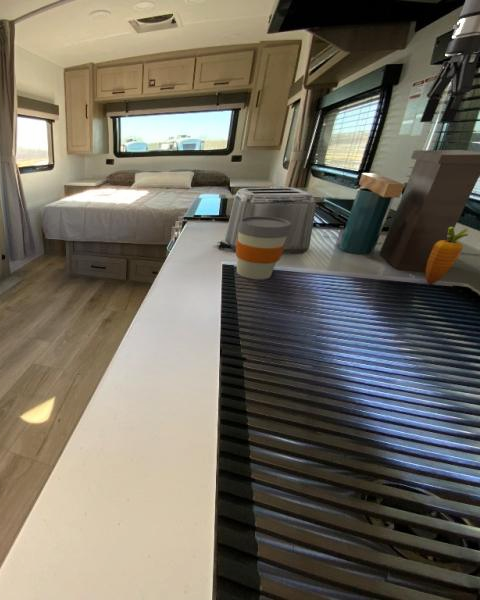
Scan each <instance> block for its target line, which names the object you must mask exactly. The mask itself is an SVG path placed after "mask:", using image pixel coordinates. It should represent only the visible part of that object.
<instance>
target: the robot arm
mask: <svg viewBox="0 0 480 600" xmlns="http://www.w3.org/2000/svg"><path fill="white" fill-rule="evenodd" d="M452 28H453V29H454V31H453V33H452V35H451V38H452V39H451V41H449V43H448V45H447V48H446V51H445V53H444V55H445V57H450V58H449V59H450V60H445V61H443V63H442V66H441V67H440V70H439V72H438V74H437V76H436V77H435V79H434V81H433V83H432V84H431V87H430V88H429V90H428V92H427V94H426V96H425V97H426V98H427V99H428V100H427V101H426V104H425V107H424V110H423V112H422V116H421V118H420V119H419V123H432V122H433V119H434V117H435V114H436V112H437V109H438V106H439V104H440V102H441V99H442V98H443V94H444V92H445V91H446V89H447V87H448V86H449V85H450V83H451V82H452V92H450V94H449V95H448V97H449V98H448V99H447V103H446V105H445V107H444V110H443V112H442V115H441V117H440V120H439V123H447V122H448V123H449V122H454V120H455V118H456V115H457V113H458V110H459V108H460V106H461V103H462V102H463V99H464V97H465V96H466V95H467V93H470V92H471V91H472V89H473V83H474V79H475V74H476V68H477V64H478V61H479V58H480V0H465V1H464V3H463V7H462V10H461V12H460V15H459V17H458V20H457V22H456V24H454V25H453V27H452Z"/></svg>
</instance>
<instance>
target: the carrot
mask: <svg viewBox="0 0 480 600" xmlns="http://www.w3.org/2000/svg"><path fill="white" fill-rule="evenodd" d="M468 230H469V229H468V228H464V229H462V230H460V232H459V233H458V234H455V227H449V229H448V236H447V238H448V239H447V240H441V241H438V242H437V243H436V244H435V245H434V247H433V249H432V251H431V254H430V256H429V259H428V262H427V266H426V272H425V279H426V283H427V285H433V284H435V283H436V282H438V281H439V280H440V279H441V278H442V277H444V276H445V275H446V274H447V272H449V270H450V269H451V268H452V267H453V266H454V264H455V262H456V260H457V259H458V257H459V256H460V254H461V252H462V250H463V248H464V245H463V244H462V243H461V242H458V240H460V239H462V238H464V237H468V236H469V234H468V233H467V232H468Z"/></svg>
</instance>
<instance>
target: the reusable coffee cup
mask: <svg viewBox="0 0 480 600" xmlns="http://www.w3.org/2000/svg"><path fill="white" fill-rule="evenodd" d="M290 224H291V223H290V222H289V221H287V220H284V219H280V218H275V217H266V216H251V217H244V218H242V219H241V220H240V222H239V226H238V229H237V230H238V239H237V240H236V251H235V256H236V273H237V274H238V276H241V277H243V278H246V279H249V280H250V279H251V280H267V279H269V278H271V277H272V274H273V272H274V269H275V267H276V264H277V262H279V261H280V259H281V256H282V254H283V253H284V251H283V249H284V247H285V243H284V242H285V240H286V237H287V236H288V235H289V231H290Z"/></svg>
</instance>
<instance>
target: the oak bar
mask: <svg viewBox="0 0 480 600" xmlns="http://www.w3.org/2000/svg"><path fill="white" fill-rule="evenodd" d="M358 185H359V186H361V187H362V188H367V189H369V190H371V191H373V192H375V193H377V194H379V195H380V196H382V197H394V199H399V198H400V197H401V196H402V192H403V191H404V187H405V186H406V185H405V183H402V182H399V181H397V180H394V179H392V178H389V177H386V176H383V175H381V174H379V173H376V172H375V173H374V172H372V173H371V172H361V175H360V178H359V182H358Z"/></svg>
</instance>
